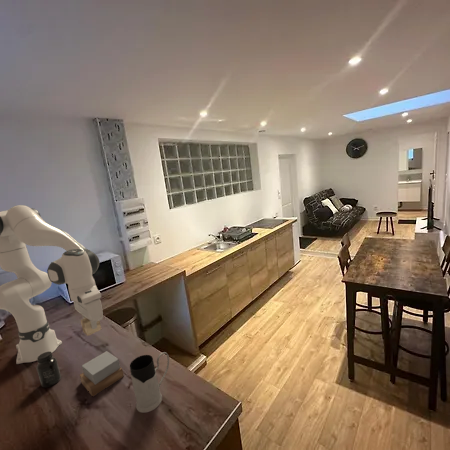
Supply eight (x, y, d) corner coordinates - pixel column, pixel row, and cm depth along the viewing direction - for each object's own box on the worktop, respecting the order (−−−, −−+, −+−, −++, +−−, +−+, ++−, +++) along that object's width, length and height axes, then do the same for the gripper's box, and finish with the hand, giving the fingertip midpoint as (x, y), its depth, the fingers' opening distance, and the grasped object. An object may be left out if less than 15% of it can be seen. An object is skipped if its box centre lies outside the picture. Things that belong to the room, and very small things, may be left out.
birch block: (83, 332, 99) (80, 320, 98) (96, 325, 103) (93, 314, 102) (87, 336, 96) (84, 323, 95) (101, 329, 99) (98, 317, 98)
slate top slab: (84, 374, 101) (81, 365, 101) (108, 359, 109) (106, 350, 108) (95, 384, 95) (92, 375, 94) (120, 367, 102) (118, 358, 102)
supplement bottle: (64, 374, 108) (58, 348, 107) (54, 386, 102) (47, 359, 100) (48, 376, 108) (41, 350, 107) (37, 389, 102) (29, 362, 100)
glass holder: (131, 403, 89) (123, 364, 86) (167, 378, 98) (160, 342, 96) (143, 417, 82) (134, 375, 80) (180, 389, 92) (173, 351, 90)
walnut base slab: (81, 383, 102) (79, 374, 102) (111, 365, 111) (109, 357, 110) (92, 398, 94) (90, 388, 93) (124, 377, 103) (122, 368, 102)
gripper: (65, 289, 102) (73, 322, 104) (83, 301, 88) (92, 338, 90) (82, 284, 106) (90, 315, 108) (102, 293, 92) (110, 329, 94)
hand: (91, 325), depth 99 cm, fingers closed on birch block, 5 cm apart
